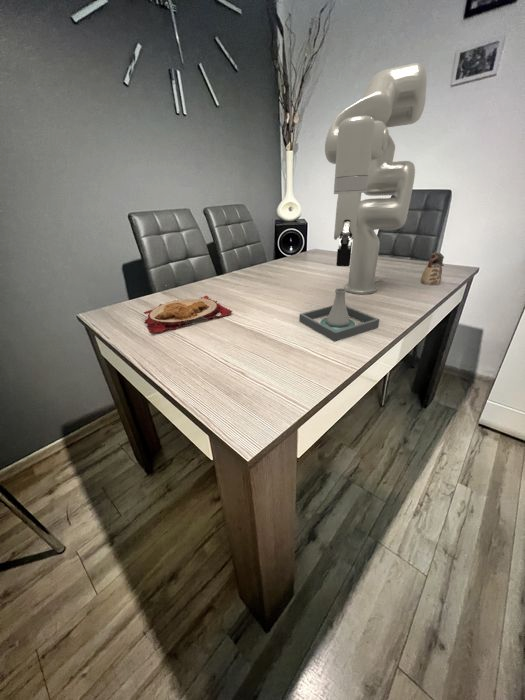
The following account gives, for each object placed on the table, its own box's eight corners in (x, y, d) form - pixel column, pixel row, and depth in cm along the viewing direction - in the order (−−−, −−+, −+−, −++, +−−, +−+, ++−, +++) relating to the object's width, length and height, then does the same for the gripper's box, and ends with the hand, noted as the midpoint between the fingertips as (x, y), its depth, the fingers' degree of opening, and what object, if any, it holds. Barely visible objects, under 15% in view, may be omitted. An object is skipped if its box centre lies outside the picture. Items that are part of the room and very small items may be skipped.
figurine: (444, 284, 110) (453, 253, 104) (429, 286, 108) (437, 254, 103) (431, 279, 116) (438, 250, 110) (416, 281, 115) (423, 251, 109)
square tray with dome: (339, 310, 90) (340, 303, 89) (378, 327, 78) (379, 319, 76) (299, 321, 84) (299, 313, 82) (334, 341, 71) (335, 333, 70)
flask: (323, 318, 84) (325, 286, 79) (346, 317, 84) (350, 285, 79) (327, 328, 78) (330, 294, 73) (353, 327, 77) (357, 293, 72)
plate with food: (233, 317, 92) (233, 307, 90) (152, 336, 80) (149, 325, 78) (207, 299, 110) (206, 290, 109) (138, 312, 98) (135, 303, 97)
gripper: (336, 187, 72) (331, 254, 80) (331, 187, 57) (326, 269, 66) (366, 185, 70) (358, 254, 78) (369, 185, 55) (358, 270, 64)
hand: (343, 261), depth 72 cm, fingers open, 9 cm apart
